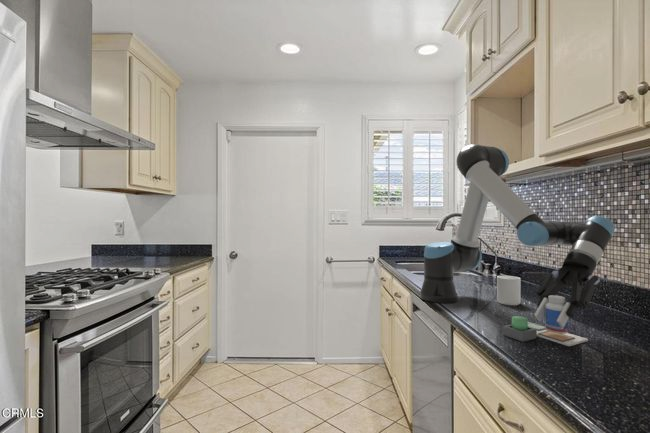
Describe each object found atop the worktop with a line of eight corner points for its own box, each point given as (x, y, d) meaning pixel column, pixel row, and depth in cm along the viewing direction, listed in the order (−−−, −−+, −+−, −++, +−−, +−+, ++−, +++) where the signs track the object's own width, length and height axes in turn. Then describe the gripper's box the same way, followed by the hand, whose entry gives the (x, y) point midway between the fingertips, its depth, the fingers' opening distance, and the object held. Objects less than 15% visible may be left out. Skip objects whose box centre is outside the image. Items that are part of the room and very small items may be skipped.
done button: (508, 329, 99) (508, 316, 99) (517, 327, 101) (517, 315, 101) (521, 333, 96) (521, 320, 96) (530, 331, 98) (530, 318, 98)
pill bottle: (570, 335, 94) (570, 300, 93) (546, 332, 96) (547, 297, 96) (565, 329, 98) (566, 295, 98) (543, 326, 101) (544, 293, 101)
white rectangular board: (510, 327, 107) (510, 324, 107) (528, 323, 111) (528, 321, 111) (569, 346, 91) (569, 343, 91) (588, 341, 95) (588, 338, 95)
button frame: (503, 334, 100) (503, 326, 100) (516, 331, 103) (516, 323, 103) (522, 341, 95) (522, 332, 95) (536, 338, 97) (536, 329, 97)
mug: (497, 297, 146) (497, 273, 146) (519, 299, 142) (519, 275, 142) (496, 304, 135) (497, 278, 135) (521, 306, 131) (521, 279, 131)
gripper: (624, 272, 96) (591, 340, 88) (555, 263, 112) (522, 320, 105) (614, 253, 93) (579, 322, 86) (545, 248, 110) (511, 305, 103)
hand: (548, 321), depth 95 cm, fingers closed on pill bottle, 5 cm apart
